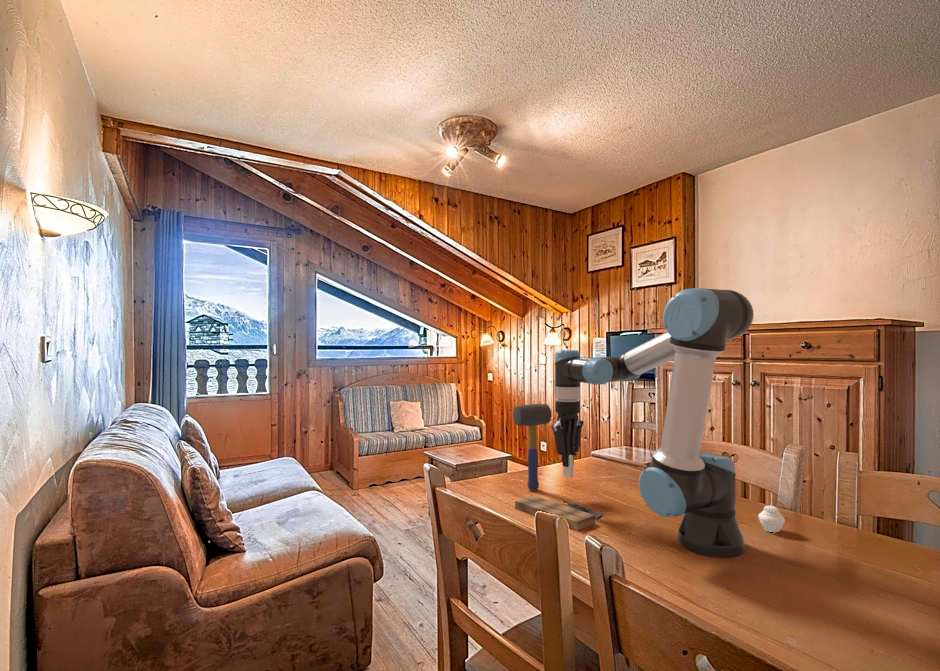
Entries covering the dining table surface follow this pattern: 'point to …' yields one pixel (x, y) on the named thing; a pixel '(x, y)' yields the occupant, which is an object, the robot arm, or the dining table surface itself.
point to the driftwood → (584, 509)
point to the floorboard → (556, 511)
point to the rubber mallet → (532, 434)
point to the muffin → (771, 519)
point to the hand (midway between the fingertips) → (568, 476)
